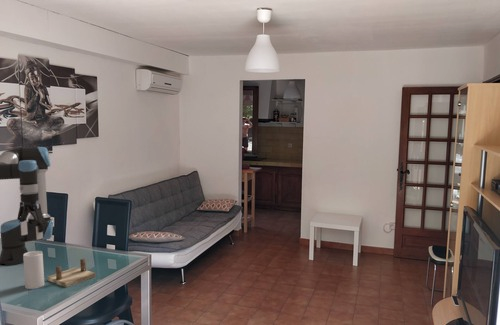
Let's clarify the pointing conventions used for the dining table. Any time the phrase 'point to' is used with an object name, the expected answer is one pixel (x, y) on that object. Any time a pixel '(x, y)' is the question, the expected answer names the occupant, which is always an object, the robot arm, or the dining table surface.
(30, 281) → the cup
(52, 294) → the dining table surface
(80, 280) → the peg board
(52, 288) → the dining table surface
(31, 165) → the robot arm
